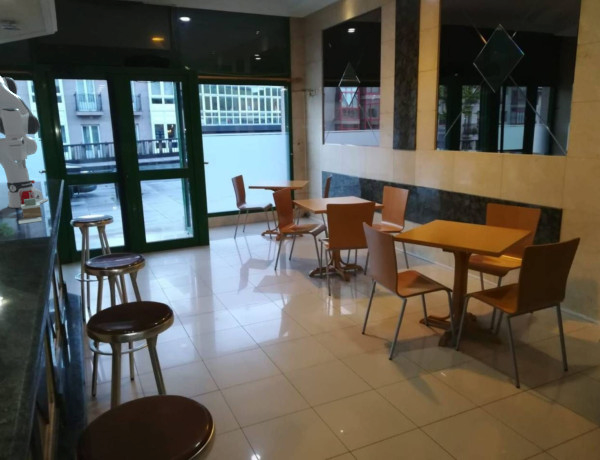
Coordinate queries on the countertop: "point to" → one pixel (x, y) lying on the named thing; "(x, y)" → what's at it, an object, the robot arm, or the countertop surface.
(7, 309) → the countertop surface
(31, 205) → the lid
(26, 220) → the mat
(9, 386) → the countertop surface
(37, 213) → the crate
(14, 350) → the countertop surface
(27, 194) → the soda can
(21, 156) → the robot arm
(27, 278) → the countertop surface
